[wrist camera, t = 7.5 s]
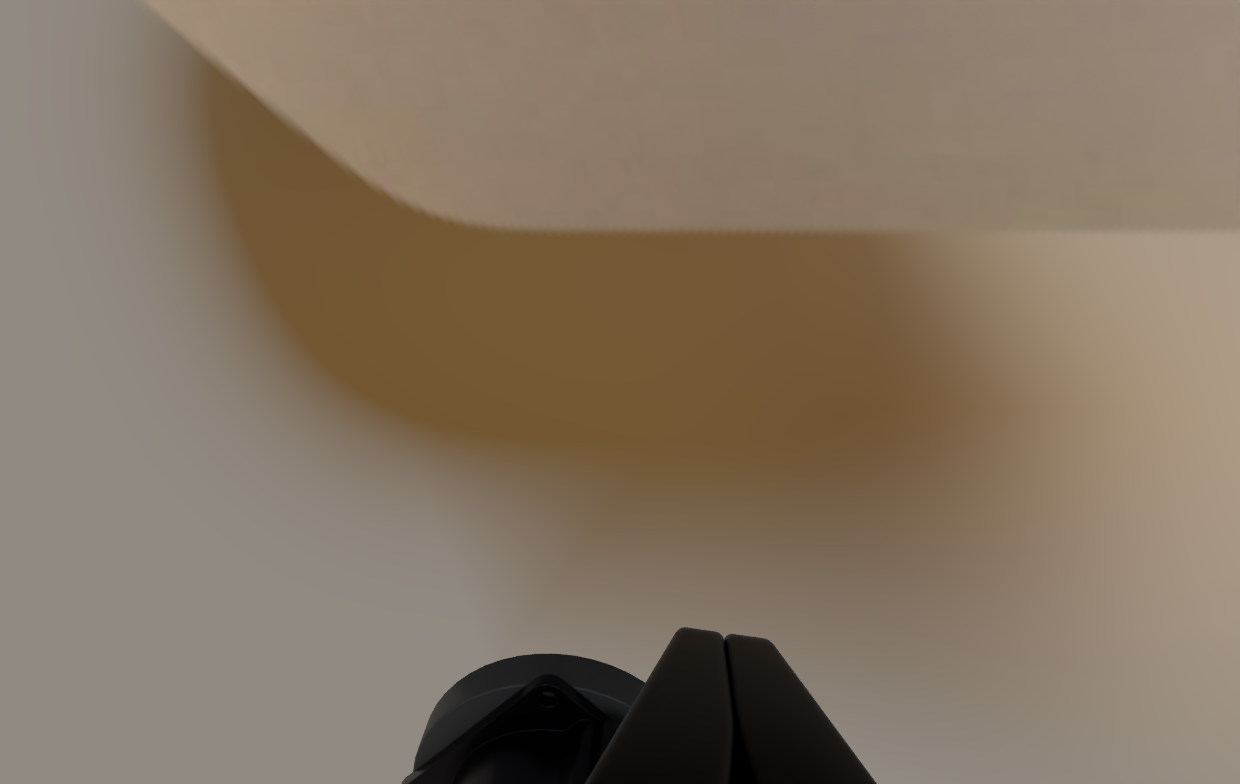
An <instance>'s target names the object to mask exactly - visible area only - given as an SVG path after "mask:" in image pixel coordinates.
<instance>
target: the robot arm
mask: <svg viewBox="0 0 1240 784" xmlns="http://www.w3.org/2000/svg"><path fill="white" fill-rule="evenodd" d="M543 692H550V693H552V694H554V696H547V695H545V694H543ZM401 784H876V782H875V781H874V779H873V778H872V777H871V776H870V774H869V773H868V771H867V770H866V769H865V767H864V766H863V765H862V763H861V762H860V761H859V759H858V758H857V756H856V755H855V754H854V752H853V751H852V750H851V748H850V747H849V746H848V744H847V743H846V742H845V740H844V739H843V738H842V736H841V735H840V733H839V732H838V731H837V729H836V728H835V727H834V726H833V724H832V723H831V722H830V720H829V719H828V717H827V716H826V715H825V713H824V712H823V711H822V709H821V708H820V707H819V705H818V704H817V702H816V701H815V700H814V698H813V697H812V696H811V694H810V693H809V692H808V690H807V689H806V688H805V686H804V685H803V684H802V682H801V681H800V680H799V678H798V677H797V675H796V674H795V673H794V671H793V670H792V669H791V667H790V666H789V665H788V663H787V662H786V661H785V659H784V658H783V657H782V655H781V654H780V653H779V651H778V650H777V649H776V647H775V646H774V645H773V644H772V643H771V642H770V641H769V640H767V639H763V638H756V637H750V636H743V635H735V634H730V635H728V636H726V637H725V639H723V637H722V635H721V634H719V633H718V632H714V631H707V630H700V629H693V628H686V627H685V628H681V629H679V630H678V631H677V632H676V633H675V635H674V636H673V638H672V640H671V642H670V644H669V645H668V647H667V648H666V650H665V652H664V654H663V655H662V657H661V658H660V660H659V661H658V663H657V665H656V667H655V668H654V670H653V671H652V673H651V675H650V676H649V678H648V680H647V682H646V683H645V685H644V686H643V688H642V690H641V691H640V693H639V695H638V696H637V698H636V700H635V701H634V703H633V705H632V706H631V708H630V710H629V711H628V713H627V715H626V716H625V718H624V720H623V721H622V723H621V725H620V724H618V723H617V722H614V721H613V720H612V719H611V718H610V717H608V716H607V715H606V714H605V713H604V712H602V711H601V710H600V709H599V708H597V707H596V706H595V705H594V704H593V703H591V702H590V701H589V700H588V699H587V698H585V697H584V696H583V695H582V694H580V693H579V692H578V691H577V690H576V689H574V688H573V687H572V686H571V685H569V684H568V683H567V682H566V681H565V680H563V679H562V678H560V677H558V676H557V675H552V674H543V675H540V676H538V677H536V678H535V679H534V680H532V681H531V682H530V683H528V684H527V685H526V686H524V687H523V688H522V689H521V690H519V691H518V692H517V693H515V694H514V695H513V696H511V697H510V698H509V699H508V700H506V701H505V702H504V703H502V704H501V705H500V706H498V707H497V708H496V709H495V710H493V711H492V712H491V713H489V714H488V715H487V716H485V717H484V718H483V719H481V720H480V721H479V722H478V723H476V724H475V725H474V726H472V727H471V728H470V729H468V730H467V731H466V732H465V733H463V734H462V735H461V736H459V737H458V738H457V739H455V740H454V741H453V742H452V743H450V744H449V745H448V746H446V747H445V748H444V749H442V750H441V751H440V752H439V753H437V754H436V755H435V756H433V757H432V758H431V759H429V760H428V761H427V762H426V763H424V764H423V765H422V766H420V767H419V768H418V769H416V770H415V771H414V772H413V773H412V774H410V775H409V776H407V777H406V778H405V779H404V780H403V781H402V783H401Z"/></svg>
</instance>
